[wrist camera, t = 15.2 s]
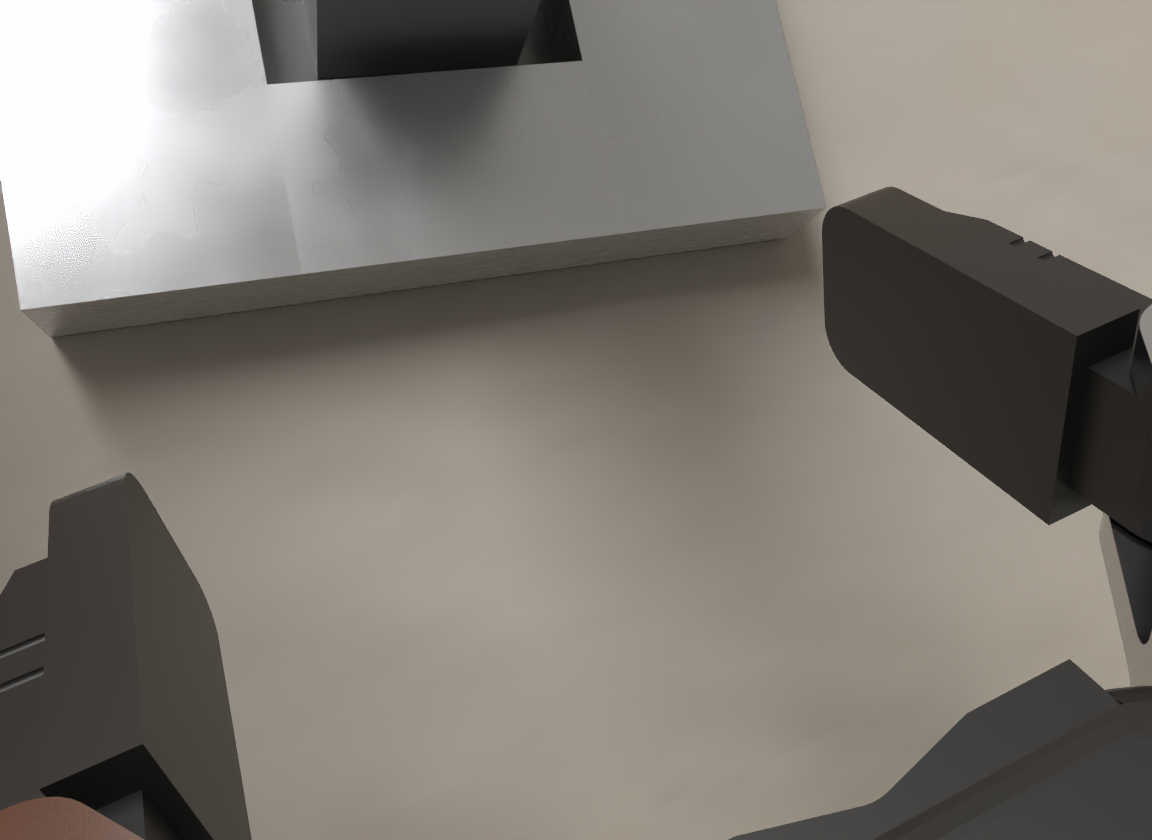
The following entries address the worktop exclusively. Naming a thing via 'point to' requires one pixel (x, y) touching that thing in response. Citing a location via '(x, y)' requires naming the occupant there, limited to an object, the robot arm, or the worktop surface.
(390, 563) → the worktop surface
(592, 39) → the socket
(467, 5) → the plug
